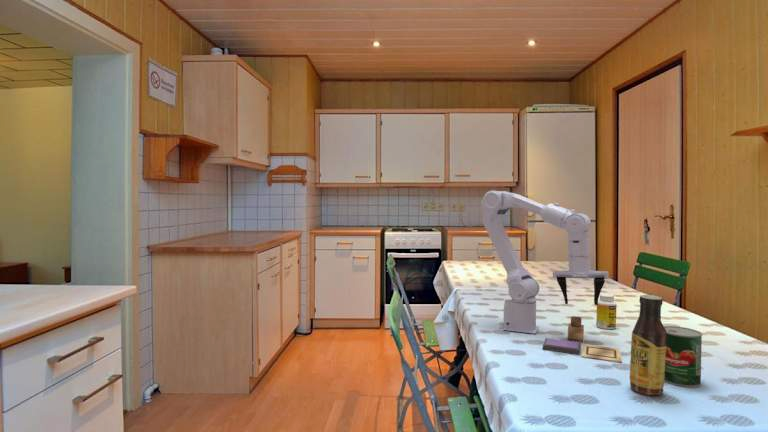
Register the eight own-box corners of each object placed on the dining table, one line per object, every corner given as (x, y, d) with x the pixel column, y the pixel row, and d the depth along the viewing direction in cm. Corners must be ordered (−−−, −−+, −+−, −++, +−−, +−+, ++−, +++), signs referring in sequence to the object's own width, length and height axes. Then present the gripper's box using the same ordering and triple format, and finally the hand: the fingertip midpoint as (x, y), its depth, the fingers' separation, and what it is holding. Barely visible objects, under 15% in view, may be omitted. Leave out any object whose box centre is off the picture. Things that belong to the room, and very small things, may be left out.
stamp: (567, 340, 128) (568, 318, 128) (568, 337, 132) (569, 315, 132) (583, 342, 127) (583, 320, 127) (583, 338, 130) (584, 316, 130)
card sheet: (581, 357, 115) (581, 355, 115) (582, 345, 124) (582, 343, 124) (621, 362, 111) (621, 361, 111) (619, 349, 121) (619, 348, 121)
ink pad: (542, 349, 120) (542, 344, 120) (545, 342, 127) (545, 337, 127) (579, 354, 117) (579, 349, 117) (580, 346, 123) (580, 341, 123)
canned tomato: (694, 376, 103) (695, 327, 102) (706, 389, 95) (707, 337, 95) (654, 371, 105) (655, 324, 105) (663, 384, 98) (664, 333, 97)
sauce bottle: (623, 385, 97) (624, 293, 96) (650, 384, 98) (652, 292, 97) (642, 398, 91) (645, 299, 90) (672, 397, 91) (674, 299, 90)
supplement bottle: (609, 330, 138) (610, 297, 138) (592, 326, 143) (593, 294, 143) (619, 328, 141) (620, 295, 141) (602, 324, 146) (603, 292, 146)
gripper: (552, 257, 127) (553, 305, 127) (609, 257, 122) (611, 307, 122) (551, 255, 134) (553, 301, 134) (606, 254, 129) (608, 302, 129)
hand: (581, 303), depth 129 cm, fingers open, 7 cm apart
